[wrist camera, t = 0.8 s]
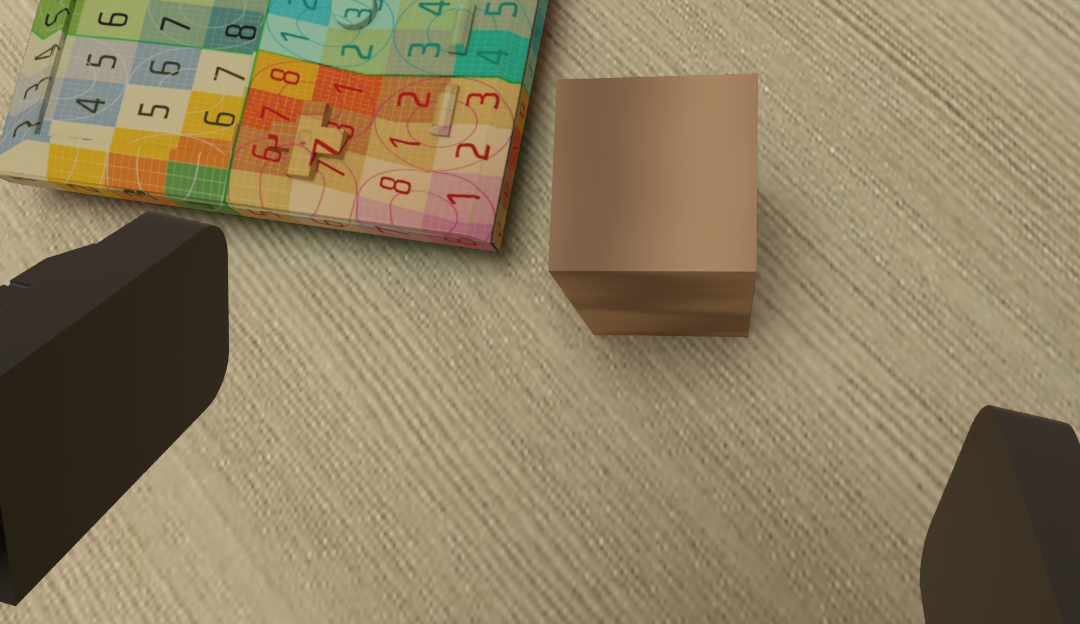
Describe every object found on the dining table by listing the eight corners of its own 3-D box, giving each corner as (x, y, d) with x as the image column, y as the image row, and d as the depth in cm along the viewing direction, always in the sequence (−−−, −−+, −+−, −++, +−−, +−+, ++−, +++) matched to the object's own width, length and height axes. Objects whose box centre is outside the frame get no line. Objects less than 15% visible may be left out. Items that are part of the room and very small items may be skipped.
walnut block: (748, 188, 37) (757, 73, 27) (747, 337, 36) (756, 271, 26) (598, 190, 38) (557, 79, 28) (593, 334, 37) (548, 270, 27)
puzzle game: (485, 236, 34) (-27, 165, 38) (513, 268, 38) (53, 202, 42) (548, -84, 36) (54, -118, 40) (568, -16, 40) (122, -54, 44)
